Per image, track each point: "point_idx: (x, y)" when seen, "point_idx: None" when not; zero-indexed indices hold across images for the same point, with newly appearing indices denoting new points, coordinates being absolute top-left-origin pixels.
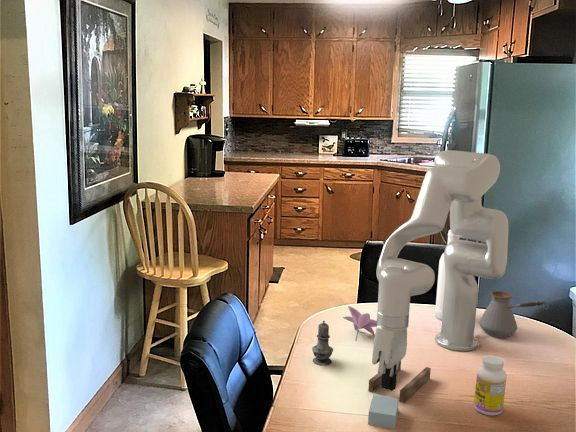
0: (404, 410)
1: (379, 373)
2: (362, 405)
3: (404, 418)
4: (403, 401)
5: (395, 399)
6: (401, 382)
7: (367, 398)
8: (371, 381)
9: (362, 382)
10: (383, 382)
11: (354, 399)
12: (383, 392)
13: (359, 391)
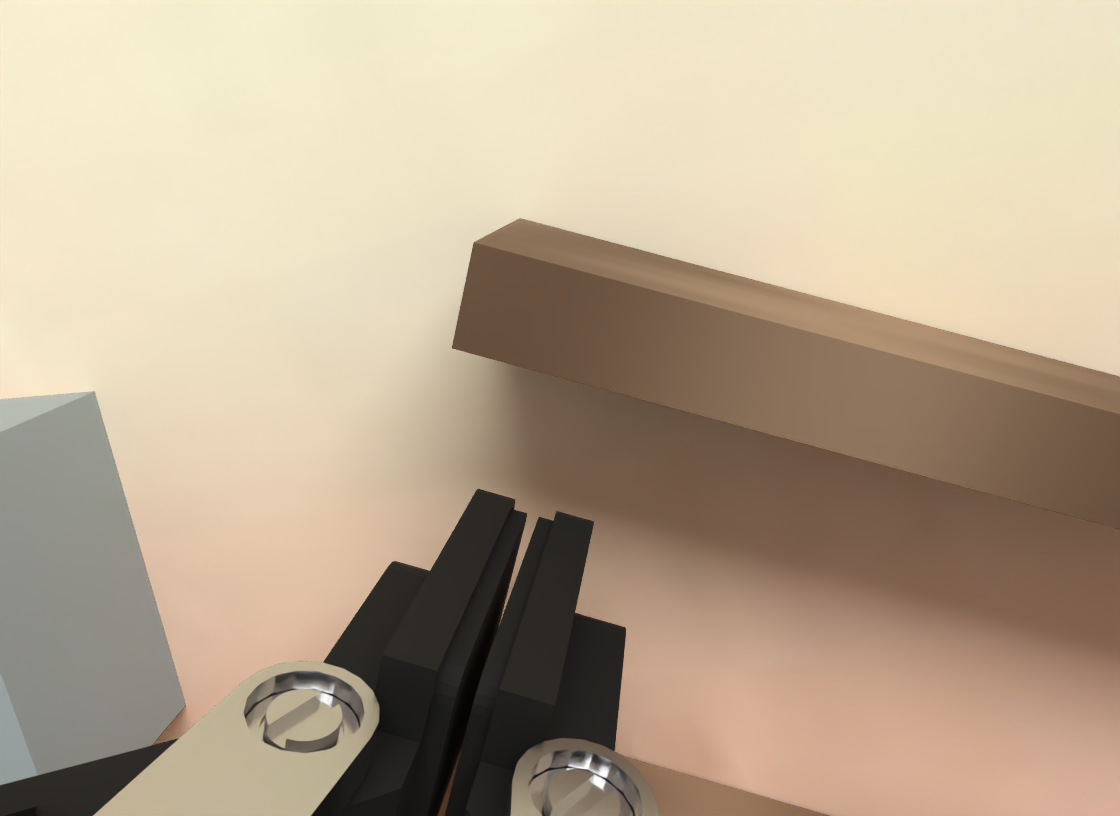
0: None
1: (905, 395)
2: (44, 242)
3: None
4: None
5: None
6: (1041, 663)
7: (279, 263)
8: (464, 300)
9: (816, 14)
10: (375, 590)
11: (137, 63)
12: (584, 458)
13: (439, 64)
